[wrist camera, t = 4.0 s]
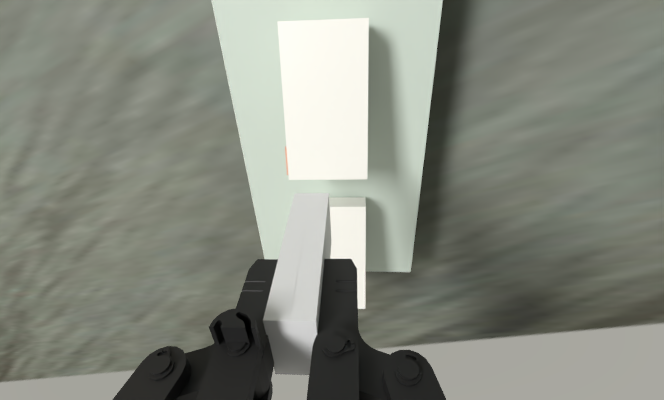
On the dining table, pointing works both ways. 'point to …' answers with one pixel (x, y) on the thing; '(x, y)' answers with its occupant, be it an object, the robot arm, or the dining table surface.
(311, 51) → the rocker middle
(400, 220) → the switch unit
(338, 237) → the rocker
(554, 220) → the dining table surface
